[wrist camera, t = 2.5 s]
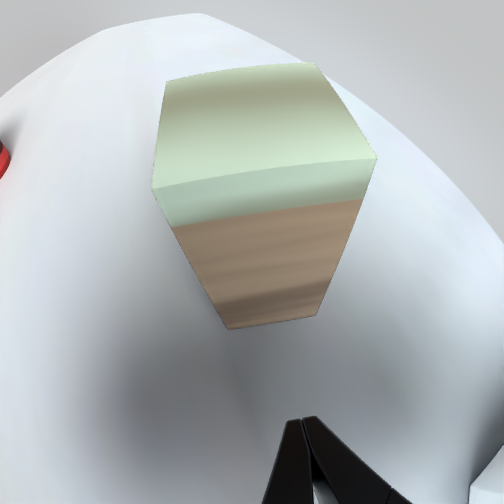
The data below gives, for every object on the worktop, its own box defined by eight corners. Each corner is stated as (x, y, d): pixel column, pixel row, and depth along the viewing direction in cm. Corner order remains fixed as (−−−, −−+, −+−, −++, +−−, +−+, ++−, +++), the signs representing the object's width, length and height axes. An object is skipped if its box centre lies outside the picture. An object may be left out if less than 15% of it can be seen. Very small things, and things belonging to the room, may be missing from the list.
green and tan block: (315, 315, 17) (377, 157, 6) (228, 329, 16) (151, 189, 6) (297, 240, 19) (313, 62, 8) (219, 253, 19) (166, 81, 8)
